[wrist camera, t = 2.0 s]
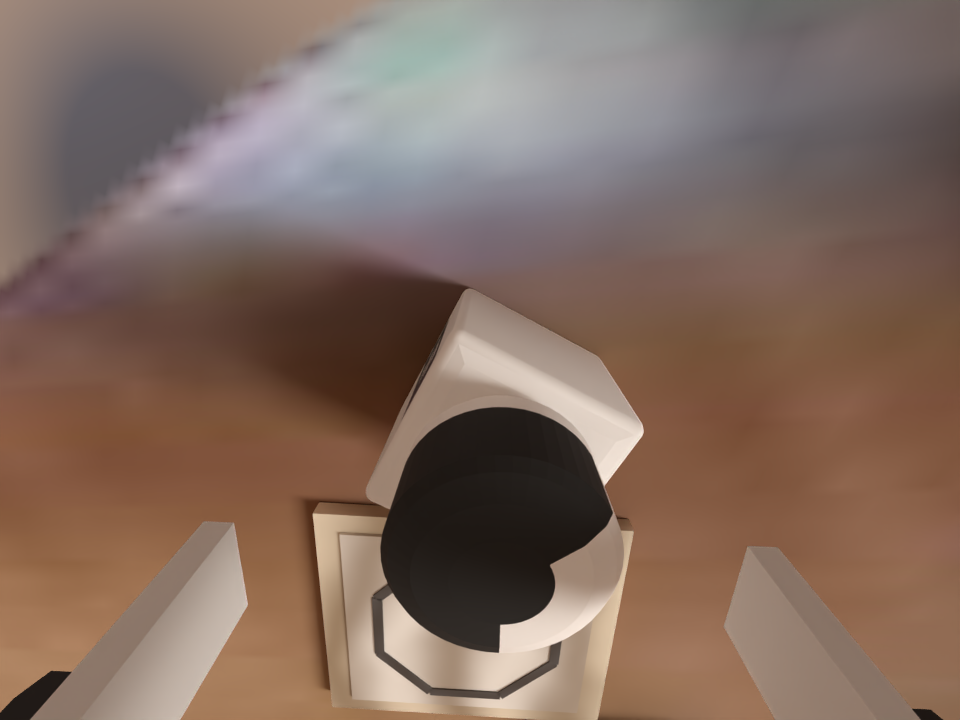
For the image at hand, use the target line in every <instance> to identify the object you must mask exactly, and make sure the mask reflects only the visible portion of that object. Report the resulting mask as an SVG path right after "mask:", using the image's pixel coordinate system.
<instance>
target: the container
mask: <svg viewBox="0 0 960 720" xmlns="http://www.w3.org/2000/svg"><path fill="white" fill-rule="evenodd" d="M643 432H644V431H643V425H642V423H641V421H640V420H639V418H638V417H637V415H636V414H635V412H634V411H633V409H632V407H631V406H630V404H629V403H628V401H627V400H626V398H625V397H624V395H623V394H622V392H621V390H620V389H619V387H618V386H617V384H616V383H615V381H614V380H613V378H612V377H611V375H610V373H609V372H608V370H607V369H606V367H605V366H604V364H603V363H602V361H601V360H600V358H599V357H598V356H596V355H595V354H593V353H591V352H589V351H587V350H585V349H583V348H582V347H580V346H578V345H576V344H574V343H572V342H571V341H569V340H567V339H565V338H563V337H561V336H559V335H558V334H556V333H554V332H552V331H550V330H548V329H546V328H545V327H543V326H541V325H539V324H537V323H535V322H533V321H532V320H530V319H528V318H526V317H524V316H522V315H521V314H519V313H517V312H515V311H513V310H511V309H509V308H508V307H506V306H504V305H502V304H500V303H498V302H496V301H495V300H493V299H491V298H489V297H487V296H485V295H483V294H482V293H480V292H478V291H476V290H474V289H470V288H469V289H466V290H465V291H464V292H463V293H462V295H461V297H460V299H459V301H458V302H457V304H456V306H455V308H454V310H453V312H452V314H451V316H450V317H449V319H448V321H447V323H446V325H445V327H444V329H443V331H442V332H441V334H440V336H439V338H438V340H437V342H436V344H435V346H434V348H433V349H432V351H431V353H430V355H429V357H428V359H427V361H426V363H425V364H424V366H423V368H422V370H421V372H420V374H419V376H418V378H417V380H416V381H415V383H414V385H413V387H412V389H411V391H410V393H409V395H408V396H407V398H406V400H405V402H404V404H403V406H402V408H401V410H400V412H399V415H398V417H397V419H396V421H395V424H394V426H393V428H392V431H391V433H390V435H389V437H388V440H387V442H386V444H385V446H384V449H383V451H382V453H381V455H380V458H379V460H378V462H377V465H376V467H375V469H374V471H373V474H372V476H371V478H370V480H369V483H368V485H367V488H366V496H367V498H368V499H369V500H371V501H372V502H374V503H377V504H379V505H381V506H383V507H385V508H388V509H390V511H389V514H388V517H387V520H386V523H385V526H384V529H383V532H382V538H381V545H380V553H381V564H382V568H383V573H384V576H385V578H386V581H387V583H388V586H389V587H390V589H391V591H392V593H393V594H394V596H395V598H396V599H397V600H398V602H399V603H400V604H401V605H402V607H403V608H404V609H405V610H406V612H407V613H408V614H409V615H410V616H411V617H412V618H413V619H414V620H415V621H416V622H417V623H418V624H419V625H421V626H422V627H423V628H425V629H426V630H428V631H429V632H430V633H432V634H434V635H436V636H437V637H439V638H441V639H443V640H445V641H448V642H450V643H452V644H455V645H458V646H461V647H464V648H468V649H472V650H477V651H483V652H492V653H516V652H525V651H531V650H535V649H540V648H544V647H546V646H549V645H552V644H555V643H558V642H560V641H562V640H564V639H566V638H568V637H570V636H571V635H573V634H575V633H576V632H578V631H579V630H581V629H582V628H583V627H585V626H586V625H587V624H588V623H589V622H591V621H592V620H593V619H594V617H595V616H596V615H597V614H598V613H599V612H600V611H601V610H602V608H603V607H604V606H605V604H606V603H607V601H608V600H609V598H610V597H611V595H612V594H613V592H614V590H615V588H616V586H617V584H618V582H619V579H620V576H621V572H622V568H623V560H624V545H623V538H622V534H621V530H620V526H619V524H618V521H617V518H616V516H615V513H614V510H613V508H612V505H611V503H610V500H609V497H608V495H607V492H606V489H605V487H604V486H605V484H606V483H607V482H608V480H609V479H610V478H611V476H612V475H613V474H614V472H615V471H616V470H617V469H618V467H619V466H620V465H621V463H622V462H623V461H624V459H625V458H626V457H627V455H628V454H629V453H630V451H631V450H632V449H633V447H634V446H635V445H636V443H637V442H638V441H639V440H640V438H641V437H642V435H643Z"/></svg>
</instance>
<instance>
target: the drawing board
mask: <svg viewBox="0 0 960 720" xmlns="http://www.w3.org/2000/svg"><path fill="white" fill-rule="evenodd" d="M389 511H390V509H388V508H385V507H383V506H379V505H360V504H342V503H324V502H319V503H318V505H317V507H316V509H315V510H314V512H313V521H314V531H315V541H316V551H317V561H318V571H319V581H320V591H321V600H322V610H323V620H324V630H325V640H326V650H327V660H328V670H329V680H330V690H331V700H332V707H341V708H357V709H373V710H389V711H406V712H422V713H438V714H454V715H470V716H486V717H503V718H519V719H535V720H598V715H599V709H600V704H601V699H602V694H603V689H604V683H605V678H606V673H607V668H608V663H609V658H610V652H611V647H612V642H613V637H614V632H615V627H616V621H617V616H618V611H619V606H620V601H621V596H622V590H623V585H624V580H625V575H626V570H627V564H628V559H629V554H630V549H631V544H632V539H633V533H634V530H633V528H632V525H631V523H630V521H629V519H617V521H618V524H619V526H620V530H621V534H622V538H623V545H624V560H623V568H622V572H621V576H620V579H619V582H618V584H617V586H616V588H615V590H614V592H613V594H612V595H611V597H610V598H609V600H608V601H607V603H606V604H605V606H604V607H603V608H602V610H601V611H600V612H599V613H598V614H597V615H596V616H595V617H594V619H593V620H592V621H591V622H589V623H588V624H587V625H586V626H585V627H583V628H582V629H581V630H579V631H578V632H576V633H575V634H573V635H571V636H570V637H568V638H566V639H564V640H562V641H560V642H558V643H555V644H552V645H549V646H546V647H544V648H540V649H535V650H531V651H525V652H516V653H492V652H483V651H477V650H472V649H468V648H464V647H461V646H458V645H455V644H452V643H450V642H448V641H445V640H443V639H441V638H439V637H437V636H436V635H434V634H432V633H430V632H429V631H428V630H426V629H425V628H423V627H422V626H421V625H419V624H418V623H417V622H416V621H415V620H414V619H413V618H412V617H411V616H410V615H409V614H408V613H407V612H406V610H405V609H404V608H403V607H402V605H401V604H400V603H399V602H398V600H397V599H396V598H395V596H394V594H393V593H392V591H391V589H390V587H389V586H388V583H387V581H386V578H385V576H384V573H383V568H382V564H381V553H380V545H381V538H382V532H383V529H384V526H385V523H386V520H387V517H388V514H389Z"/></svg>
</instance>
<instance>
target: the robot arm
mask: <svg viewBox="0 0 960 720" xmlns="http://www.w3.org/2000/svg"><path fill="white" fill-rule="evenodd" d="M247 606H248V603H247V597H246V591H245V585H244V579H243V573H242V567H241V562H240V556H239V550H238V544H237V538H236V532H235V526H234V523H226V522H203V523H202V524H201V525H200V527H199V528H198V529H197V530H196V531H195V532H194V533H193V535H192V536H191V537H190V538H189V539H188V540H187V541H186V543H185V544H184V545H183V546H182V547H181V548H180V549H179V551H178V552H177V553H176V554H175V555H174V556H173V557H172V558H171V560H170V561H169V562H168V563H167V564H166V565H165V566H164V568H163V569H162V570H161V571H160V572H159V573H158V574H157V576H156V577H155V578H154V579H153V580H152V581H151V582H150V584H149V585H148V586H147V587H146V588H145V589H144V590H143V592H142V593H141V594H140V595H139V596H138V597H137V598H136V600H135V601H134V602H133V603H132V604H131V605H130V606H129V608H128V609H127V610H126V611H125V612H124V613H123V614H122V615H121V617H120V618H119V619H118V620H117V621H116V622H115V623H114V625H113V626H112V627H111V628H110V629H109V630H108V631H107V633H106V634H105V635H104V636H103V637H102V638H101V639H100V641H99V642H98V643H97V644H96V645H95V646H94V647H93V649H92V650H91V651H90V652H89V653H88V654H87V655H86V657H85V658H84V659H83V660H82V661H81V662H80V663H79V664H78V666H77V667H76V668H75V669H74V670H73V671H72V672H63V671H50V672H49V673H48V674H46V675H45V676H44V677H42V678H41V679H40V680H38V681H37V682H35V683H34V684H33V685H31V686H30V687H29V688H27V689H26V690H25V691H23V692H22V693H21V694H19V695H18V696H17V697H15V698H14V699H13V700H12V701H11V702H10V703H9V704H8V705H7V706H6V707H5V708H4V709H3V710H2V711H1V713H0V720H180V719H181V718H182V716H183V714H184V712H185V711H186V709H187V707H188V706H189V704H190V702H191V701H192V699H193V697H194V695H195V694H196V692H197V690H198V689H199V687H200V685H201V684H202V682H203V680H204V679H205V677H206V675H207V673H208V672H209V670H210V668H211V667H212V665H213V663H214V662H215V660H216V658H217V656H218V655H219V653H220V651H221V650H222V648H223V646H224V645H225V643H226V641H227V640H228V638H229V636H230V634H231V633H232V631H233V629H234V628H235V626H236V624H237V623H238V621H239V619H240V617H241V616H242V614H243V612H244V611H245V609H246V607H247ZM724 628H725V630H726V632H727V633H728V635H729V637H730V639H731V641H732V642H733V644H734V646H735V648H736V650H737V652H738V653H739V655H740V657H741V659H742V661H743V662H744V664H745V666H746V668H747V670H748V671H749V673H750V675H751V677H752V679H753V681H754V682H755V684H756V686H757V688H758V690H759V691H760V693H761V695H762V697H763V699H764V701H765V702H766V704H767V706H768V708H769V710H770V711H771V713H772V715H773V717H774V719H775V720H943V719H941V718H940V717H939V716H938V715H936V714H935V713H934V712H933V711H932V710H927V709H911V707H910V706H909V705H908V704H907V703H906V701H905V700H904V699H903V698H902V697H901V695H900V694H899V693H898V692H897V691H896V689H895V688H894V687H893V686H892V685H891V683H890V682H889V681H888V680H887V679H886V677H885V676H884V675H883V674H882V672H881V671H880V670H879V669H878V668H877V666H876V665H875V664H874V663H873V662H872V660H871V659H870V658H869V657H868V656H867V654H866V653H865V652H864V651H863V650H862V648H861V647H860V646H859V645H858V644H857V642H856V641H855V640H854V639H853V638H852V636H851V635H850V634H849V633H848V632H847V630H846V629H845V628H844V627H843V625H842V624H841V623H840V622H839V621H838V619H837V618H836V617H835V616H834V615H833V613H832V612H831V611H830V610H829V609H828V607H827V606H826V605H825V604H824V603H823V601H822V600H821V599H820V598H819V597H818V595H817V594H816V593H815V592H814V591H813V589H812V588H811V587H810V586H809V585H808V583H807V582H806V581H805V580H804V578H803V577H802V576H801V575H800V574H799V572H798V571H797V570H796V569H795V568H794V566H793V565H792V564H791V563H790V562H789V560H788V559H787V558H786V557H785V556H784V554H783V553H782V552H781V551H780V550H779V548H778V547H755V546H748V547H747V550H746V554H745V557H744V561H743V564H742V567H741V571H740V574H739V577H738V581H737V584H736V587H735V591H734V594H733V597H732V601H731V604H730V607H729V611H728V614H727V618H726V621H725V624H724Z"/></svg>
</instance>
